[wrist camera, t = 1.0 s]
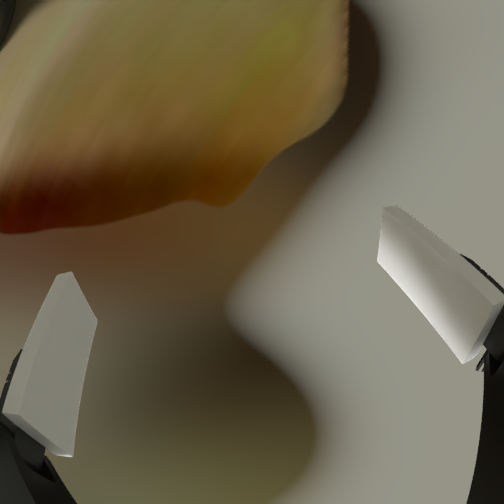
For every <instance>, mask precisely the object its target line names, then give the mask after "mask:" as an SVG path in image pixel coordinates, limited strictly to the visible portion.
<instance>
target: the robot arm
mask: <svg viewBox="0 0 504 504" xmlns="http://www.w3.org/2000/svg"><path fill="white" fill-rule="evenodd" d="M14 6H15V0H0V45H1V43H2V41H3V39H4V37H5V35H6V33H7V31H8V28H9V26H10V23H11V20H12V16H13V12H14ZM377 262H378V263H379V264H380V265H381V266H382V267H383V268H384V269H385V271H386V272H387V273H388V274H389V275H390V276H391V277H392V278H393V280H394V281H395V282H396V283H397V284H398V285H399V286H400V288H401V289H402V290H403V291H404V292H405V293H406V294H407V296H408V297H409V298H410V299H411V300H412V301H413V303H414V304H415V305H416V306H417V307H418V309H419V310H420V311H421V312H422V313H423V315H424V316H425V317H426V318H427V319H428V321H429V322H430V323H431V324H432V326H433V327H434V328H435V329H436V331H437V332H438V333H439V334H440V335H441V337H442V338H443V339H444V341H445V342H446V343H447V345H448V346H449V347H450V348H451V350H452V351H453V352H454V353H455V355H456V356H457V358H458V359H459V360H460V361H461V363H462V364H464V363H466V362H467V361H469V360H471V359H472V358H474V357H475V356H476V355H477V354H478V352H479V351H480V349H481V347H482V345H484V346H485V347H486V349H487V350H486V352H485V353H484V355H483V357H482V358H481V360H480V361H479V363H478V365H477V367H476V370H477V371H478V370H479V369H480V367H481V366H482V364H483V363H484V368H483V369H482V372H484V395H483V412H482V423H481V432H480V440H479V447H478V453H477V459H476V465H475V470H474V475H473V480H472V484H471V488H470V493H469V496H468V500H467V504H504V289H503V288H502V287H501V286H500V285H499V284H498V283H497V282H496V281H495V280H494V279H493V278H492V277H491V276H489V275H487V273H486V272H485V271H484V270H483V269H481V268H480V267H479V266H478V265H477V264H476V263H475V262H474V261H473V260H471V259H469V258H467V257H465V256H463V255H462V254H459V253H457V252H456V251H455V250H454V249H453V248H451V247H450V246H449V245H448V244H447V243H445V242H444V241H443V240H442V239H440V238H439V237H438V236H437V235H435V234H434V233H433V232H432V231H430V230H429V229H427V228H426V227H425V226H424V225H423V224H421V223H420V222H419V221H417V220H416V219H415V218H413V217H412V216H410V215H409V214H408V213H407V212H405V211H404V210H402V209H401V208H400V207H398V206H391V207H385V208H383V212H382V224H381V234H380V242H379V250H378V258H377ZM96 325H97V319H96V317H95V315H94V314H93V312H92V310H91V308H90V306H89V304H88V303H87V301H86V299H85V297H84V295H83V293H82V291H81V289H80V288H79V285H78V284H77V281H76V279H75V277H74V275H73V273H72V272H67V273H63V274H59V275H57V276H56V278H55V280H54V282H53V284H52V286H51V288H50V290H49V292H48V294H47V296H46V298H45V300H44V302H43V304H42V306H41V309H40V311H39V313H38V315H37V317H36V320H35V322H34V324H33V326H32V328H31V331H30V333H29V336H28V338H27V340H26V343H25V345H24V348H23V349H21V350H20V352H19V353H18V355H17V356H16V357H15V359H14V360H13V363H12V365H11V368H10V374H8V377H7V379H6V383H5V385H4V388H3V391H2V395H1V398H0V504H77V503H76V501H75V500H74V499H73V497H72V495H71V494H70V492H69V491H68V490H67V488H66V486H65V485H64V483H63V482H62V480H61V478H60V477H59V475H58V474H57V472H56V470H55V468H54V466H53V465H52V463H51V461H50V460H49V459H48V457H47V456H45V455H44V453H45V448H46V449H47V450H49V451H50V452H52V453H53V454H55V455H58V456H68V457H73V452H74V443H75V434H76V426H77V419H78V412H79V406H80V400H81V394H82V388H83V383H84V378H85V373H86V368H87V363H88V359H89V354H90V350H91V345H92V341H93V337H94V333H95V329H96Z"/></svg>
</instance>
